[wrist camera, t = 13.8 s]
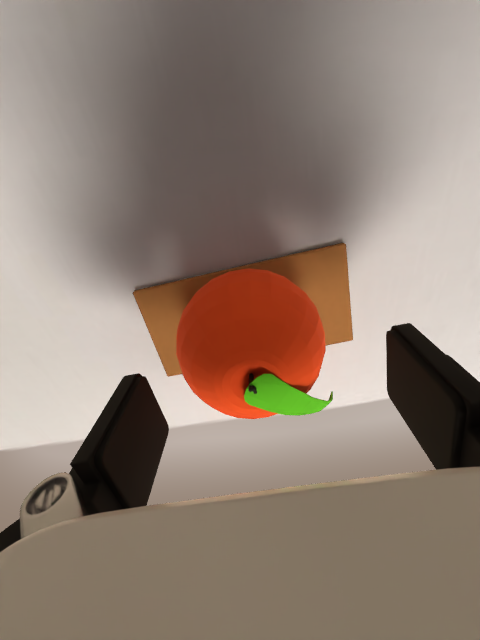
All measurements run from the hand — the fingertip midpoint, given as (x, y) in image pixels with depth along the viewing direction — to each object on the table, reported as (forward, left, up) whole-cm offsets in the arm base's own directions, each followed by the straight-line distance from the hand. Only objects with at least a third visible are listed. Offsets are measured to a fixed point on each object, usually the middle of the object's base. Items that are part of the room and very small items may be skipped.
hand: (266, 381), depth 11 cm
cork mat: (+1, 0, -7) cm, 7 cm away
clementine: (0, 0, -7) cm, 7 cm away
